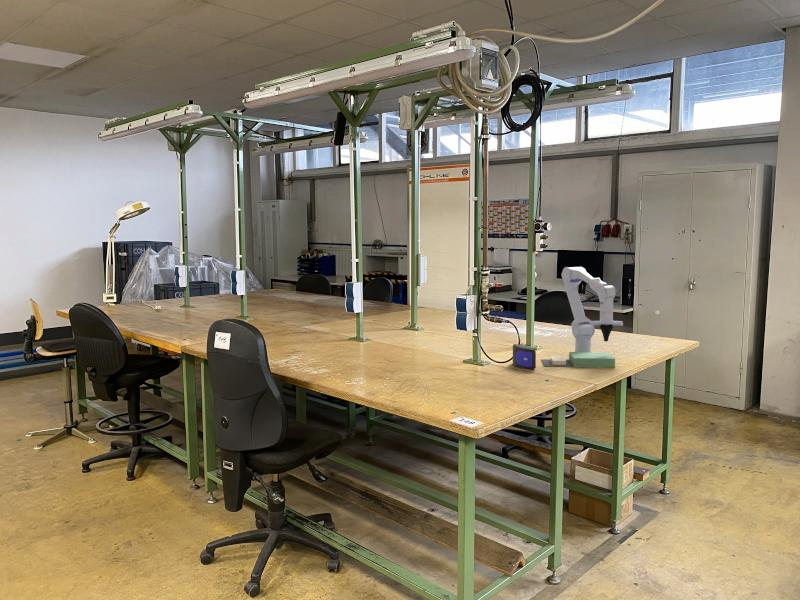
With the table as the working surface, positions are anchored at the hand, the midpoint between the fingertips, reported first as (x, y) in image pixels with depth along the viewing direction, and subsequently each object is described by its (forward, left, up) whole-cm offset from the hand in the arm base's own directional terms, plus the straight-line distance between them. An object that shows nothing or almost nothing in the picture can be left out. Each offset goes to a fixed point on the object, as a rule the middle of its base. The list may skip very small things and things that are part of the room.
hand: (605, 341), depth 283 cm
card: (+4, -22, -8) cm, 24 cm away
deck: (+4, -7, -10) cm, 13 cm away
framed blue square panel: (+11, -38, -10) cm, 41 cm away
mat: (+4, -23, -10) cm, 25 cm away
